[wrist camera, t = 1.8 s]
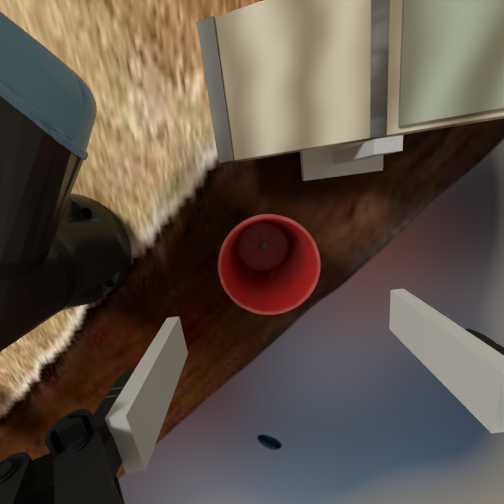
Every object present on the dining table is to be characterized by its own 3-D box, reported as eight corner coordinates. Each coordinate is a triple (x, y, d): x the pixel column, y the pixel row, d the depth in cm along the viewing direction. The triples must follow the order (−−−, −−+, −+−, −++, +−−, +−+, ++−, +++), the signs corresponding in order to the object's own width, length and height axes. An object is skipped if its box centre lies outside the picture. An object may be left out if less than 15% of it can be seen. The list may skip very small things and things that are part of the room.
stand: (301, 181, 31) (329, 178, 21) (290, 13, 26) (319, -104, 16) (451, 161, 31) (558, 148, 20) (467, -13, 26) (620, -152, 15)
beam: (226, 163, 27) (218, 162, 24) (207, 36, 24) (195, 20, 21) (580, 105, 19) (620, 95, 16) (626, -100, 15) (683, -151, 13)
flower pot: (298, 201, 32) (319, 208, 23) (302, 277, 35) (323, 310, 26) (221, 210, 32) (209, 220, 23) (231, 284, 35) (225, 320, 26)
